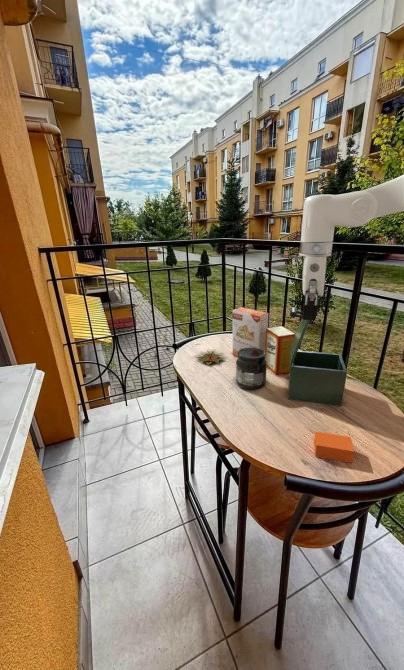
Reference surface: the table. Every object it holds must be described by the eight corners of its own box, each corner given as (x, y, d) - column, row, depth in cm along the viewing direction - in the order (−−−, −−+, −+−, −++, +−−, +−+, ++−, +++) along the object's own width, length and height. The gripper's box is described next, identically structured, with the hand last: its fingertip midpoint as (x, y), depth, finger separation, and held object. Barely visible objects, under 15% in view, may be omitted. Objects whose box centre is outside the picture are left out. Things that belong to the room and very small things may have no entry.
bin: (336, 385, 96) (340, 354, 92) (341, 406, 85) (347, 372, 80) (288, 380, 100) (291, 350, 96) (287, 399, 89) (290, 366, 85)
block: (348, 447, 69) (350, 436, 68) (352, 463, 64) (354, 451, 63) (313, 442, 71) (315, 431, 70) (315, 456, 67) (316, 445, 66)
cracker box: (231, 355, 122) (231, 309, 114) (240, 351, 125) (241, 306, 118) (257, 366, 112) (259, 315, 104) (266, 361, 115) (269, 312, 108)
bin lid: (309, 304, 89) (292, 300, 90) (311, 316, 78) (292, 310, 79) (292, 349, 96) (276, 344, 97) (291, 365, 85) (274, 359, 86)
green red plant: (191, 358, 120) (190, 349, 119) (213, 351, 126) (213, 342, 125) (206, 369, 111) (206, 358, 109) (230, 360, 117) (230, 350, 115)
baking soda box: (264, 364, 112) (266, 327, 107) (279, 362, 114) (281, 325, 108) (276, 375, 104) (278, 335, 98) (292, 372, 105) (295, 333, 100)
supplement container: (256, 374, 106) (257, 344, 101) (271, 387, 96) (273, 355, 92) (230, 379, 102) (230, 349, 98) (244, 394, 93) (245, 361, 89)
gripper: (335, 252, 62) (325, 325, 68) (328, 247, 77) (321, 307, 83) (299, 252, 64) (293, 323, 70) (300, 247, 79) (294, 306, 85)
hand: (308, 314), depth 77 cm, fingers open, 9 cm apart
